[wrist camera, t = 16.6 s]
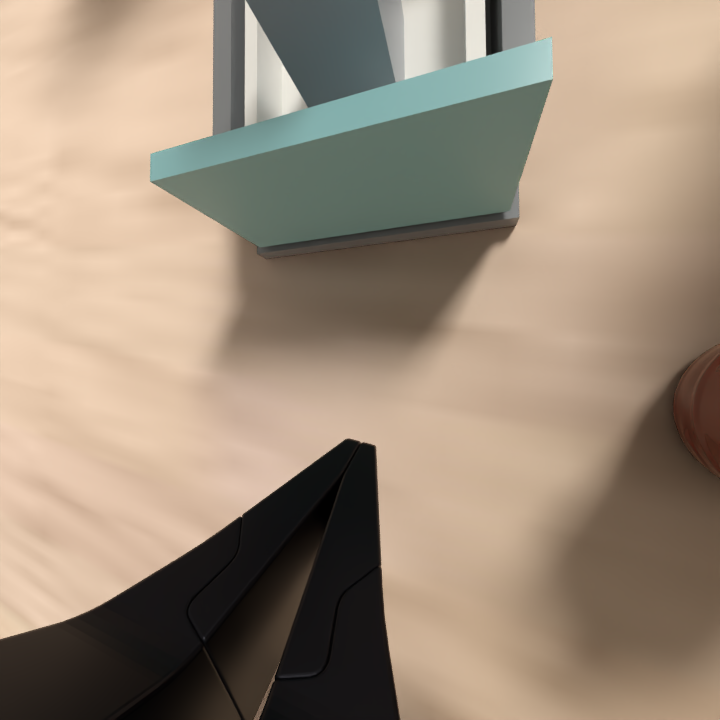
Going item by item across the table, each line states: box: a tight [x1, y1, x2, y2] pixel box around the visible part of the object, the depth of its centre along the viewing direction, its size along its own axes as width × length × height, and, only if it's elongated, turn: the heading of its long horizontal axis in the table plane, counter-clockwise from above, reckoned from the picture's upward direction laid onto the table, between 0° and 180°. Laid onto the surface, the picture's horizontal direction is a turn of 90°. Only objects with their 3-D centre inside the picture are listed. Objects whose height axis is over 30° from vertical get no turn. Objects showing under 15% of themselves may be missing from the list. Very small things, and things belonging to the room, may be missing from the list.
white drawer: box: [150, 0, 553, 247], centre depth 15 cm, size 15×15×8 cm
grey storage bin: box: [213, 0, 535, 259], centre depth 17 cm, size 18×16×5 cm
